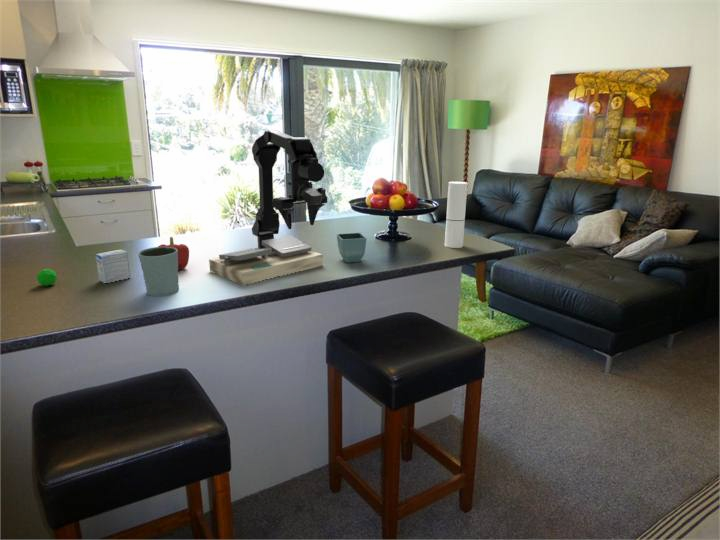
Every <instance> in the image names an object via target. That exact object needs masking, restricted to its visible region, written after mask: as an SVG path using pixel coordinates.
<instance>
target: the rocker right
mask: <svg viewBox="0 0 720 540" xmlns="http://www.w3.org/2000/svg"><path fill="white" fill-rule="evenodd" d="M303 242H304V241H302V242H301V240H299V239H298V238H296V237H294V236H292V235H286V236H280V237H274V239H269V240H263V241H262V245H263V246H265V247H266V248H272V250H273V252H274V253H276V254H278V255H279V256H281V257H287V256H291V255H296V254H300V253H305V252H309V251H312V246H310V245H309V244H307V243H305V242H304V243H303Z"/></svg>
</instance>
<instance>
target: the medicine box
mask: <svg viewBox="0 0 720 540" xmlns="http://www.w3.org/2000/svg"><path fill="white" fill-rule="evenodd" d="M94 255H95V256H94V257H95V261H96V267H97V269H96V270H97V276H98V281H99V280H100V281H102V282H104V283H109V284H111V283H110V282H113V283H116V282H115V281H117V282H120V281H119V280H121V281H124V279H125V280H129V279H131V278H132V273H131V267H130V259H129V252H128V251H126V250H124V249H117V250H110V251H106V252H105V251H104V252H100V253H96V254H94ZM128 278H129V279H128ZM100 281H99V282H100ZM102 282H101V283H102ZM104 283H103V284H104Z"/></svg>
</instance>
